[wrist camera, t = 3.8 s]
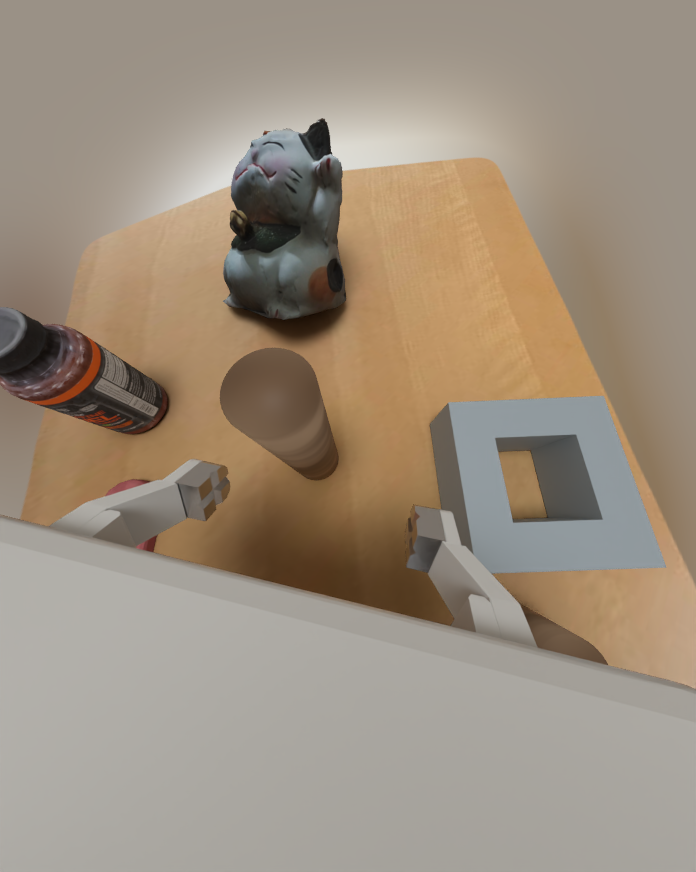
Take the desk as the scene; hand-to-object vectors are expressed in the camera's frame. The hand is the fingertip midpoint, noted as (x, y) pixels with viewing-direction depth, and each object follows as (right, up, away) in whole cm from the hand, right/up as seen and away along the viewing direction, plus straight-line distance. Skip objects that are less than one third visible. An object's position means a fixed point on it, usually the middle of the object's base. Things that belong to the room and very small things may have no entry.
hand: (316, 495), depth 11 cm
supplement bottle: (-20, +5, +15) cm, 25 cm away
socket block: (+16, -2, +12) cm, 20 cm away
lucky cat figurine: (-6, +20, +19) cm, 28 cm away
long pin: (-2, 0, +13) cm, 13 cm away
